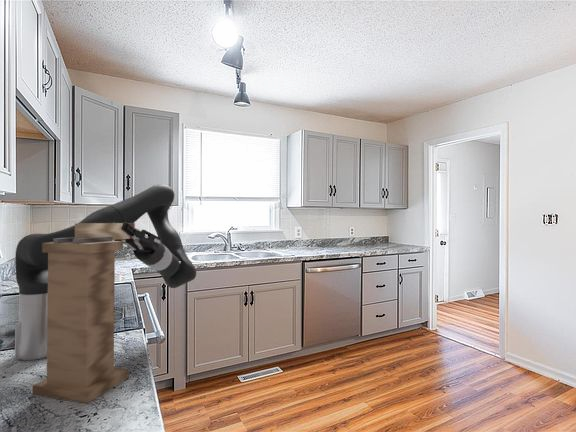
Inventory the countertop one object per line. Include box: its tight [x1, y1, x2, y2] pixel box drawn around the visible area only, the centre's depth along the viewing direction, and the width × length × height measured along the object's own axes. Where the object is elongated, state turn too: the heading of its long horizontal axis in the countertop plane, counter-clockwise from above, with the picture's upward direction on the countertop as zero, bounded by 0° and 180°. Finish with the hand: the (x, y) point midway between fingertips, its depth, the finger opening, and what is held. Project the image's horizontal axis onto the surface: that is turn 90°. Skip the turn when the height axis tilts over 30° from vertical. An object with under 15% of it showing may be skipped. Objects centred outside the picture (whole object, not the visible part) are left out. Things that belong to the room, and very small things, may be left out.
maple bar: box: [74, 222, 136, 241], centre depth 83 cm, size 16×3×4 cm, turn 166°
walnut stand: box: [32, 237, 130, 404], centre depth 76 cm, size 12×14×33 cm
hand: (117, 225), depth 87 cm, fingers closed on maple bar, 3 cm apart
